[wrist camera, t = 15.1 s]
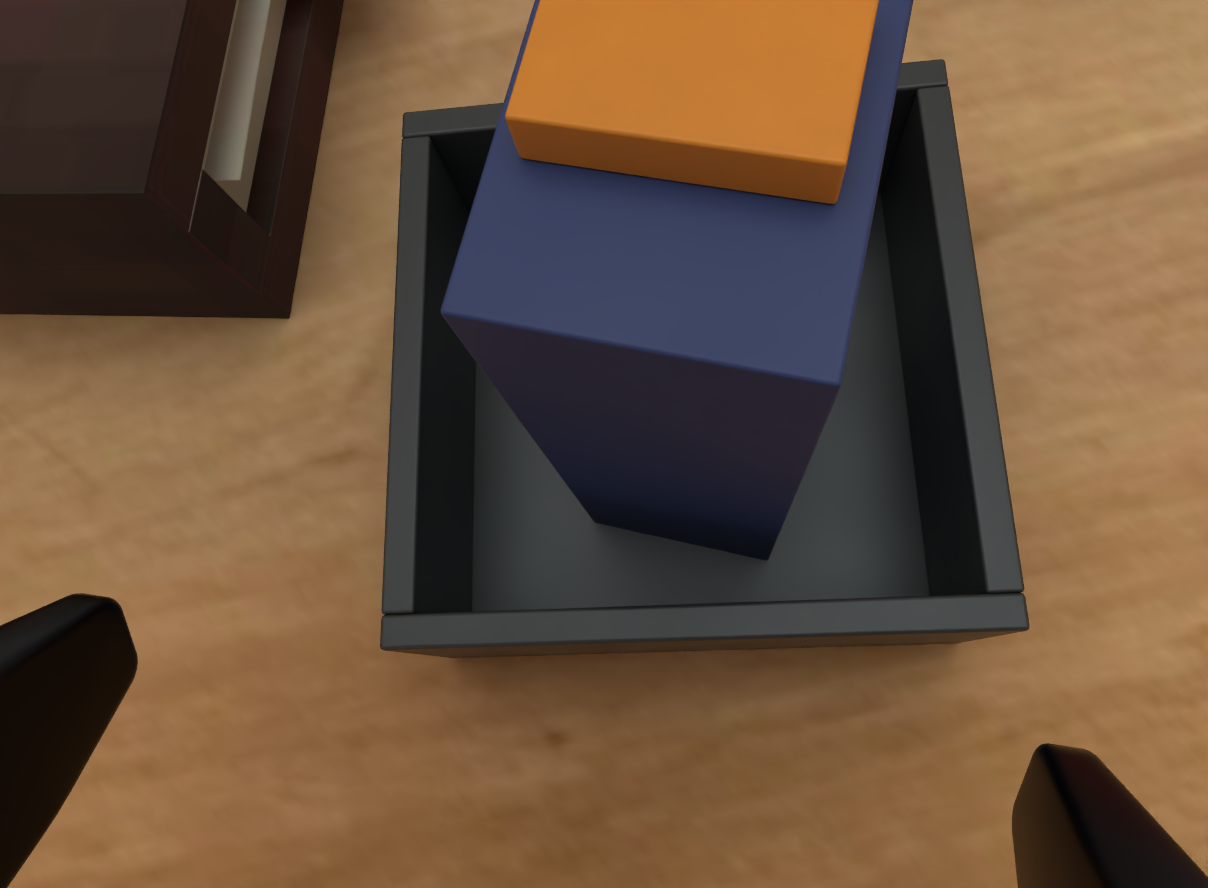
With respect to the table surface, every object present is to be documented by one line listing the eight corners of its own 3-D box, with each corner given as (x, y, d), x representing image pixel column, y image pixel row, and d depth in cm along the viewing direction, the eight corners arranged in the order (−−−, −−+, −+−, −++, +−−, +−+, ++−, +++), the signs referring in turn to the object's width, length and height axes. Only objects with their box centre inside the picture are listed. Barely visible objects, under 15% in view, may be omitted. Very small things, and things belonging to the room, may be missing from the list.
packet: (768, 561, 21) (854, 358, 8) (593, 522, 22) (413, 280, 9) (815, 320, 23) (953, -181, 10) (650, 291, 24) (568, -208, 10)
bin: (959, 642, 21) (1031, 630, 16) (450, 658, 22) (378, 650, 18) (900, 181, 24) (945, 57, 19) (460, 218, 26) (401, 111, 21)
